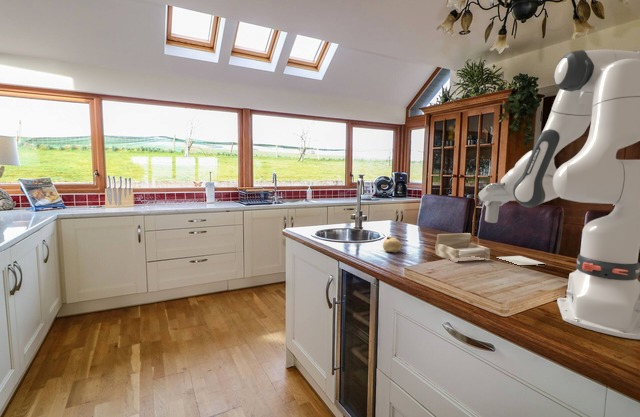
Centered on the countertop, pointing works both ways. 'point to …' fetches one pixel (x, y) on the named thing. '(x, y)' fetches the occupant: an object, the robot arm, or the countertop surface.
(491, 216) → the beverage can
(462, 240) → the birch rack
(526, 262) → the ceramic tile
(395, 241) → the onion
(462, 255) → the light wood bar
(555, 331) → the countertop surface
